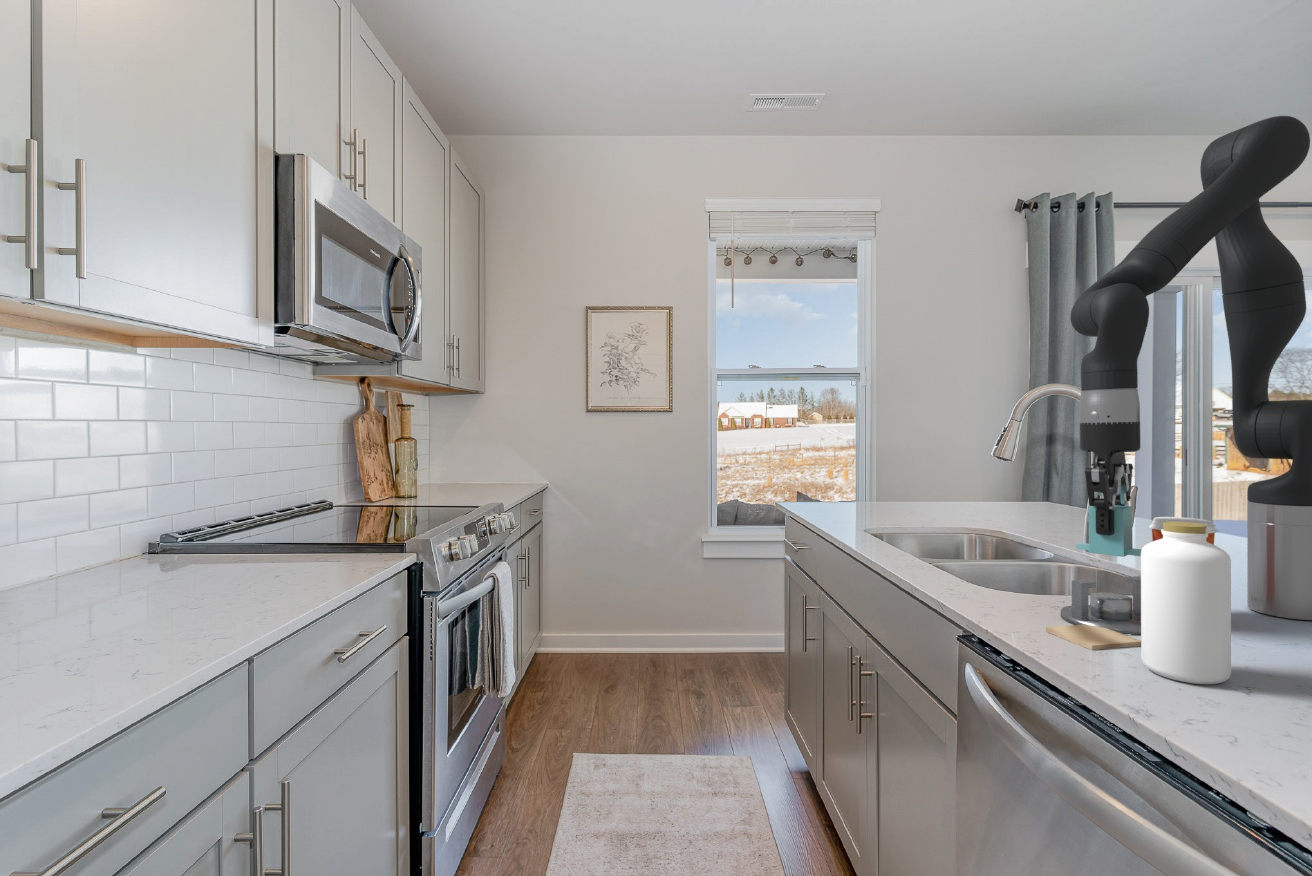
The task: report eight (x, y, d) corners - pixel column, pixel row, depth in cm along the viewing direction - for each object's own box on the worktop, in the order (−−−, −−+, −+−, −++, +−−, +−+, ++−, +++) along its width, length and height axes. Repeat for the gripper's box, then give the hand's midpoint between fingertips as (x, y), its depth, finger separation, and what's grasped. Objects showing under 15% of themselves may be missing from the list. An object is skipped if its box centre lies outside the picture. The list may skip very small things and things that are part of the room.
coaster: (1093, 627, 95) (1093, 623, 95) (1143, 645, 87) (1143, 641, 87) (1045, 631, 94) (1045, 627, 94) (1092, 650, 86) (1092, 645, 86)
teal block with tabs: (1150, 554, 96) (1149, 507, 96) (1141, 559, 93) (1141, 510, 93) (1082, 547, 103) (1082, 503, 103) (1072, 551, 100) (1072, 505, 100)
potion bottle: (1142, 656, 83) (1142, 517, 83) (1229, 671, 78) (1229, 522, 78) (1139, 676, 77) (1138, 525, 77) (1233, 694, 72) (1232, 531, 71)
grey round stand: (1110, 607, 106) (1110, 568, 105) (1189, 631, 93) (1189, 587, 93) (1040, 612, 103) (1040, 572, 103) (1111, 638, 90) (1111, 592, 90)
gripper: (1124, 420, 90) (1125, 542, 91) (1152, 418, 99) (1154, 529, 100) (1063, 421, 96) (1065, 536, 96) (1096, 419, 105) (1097, 524, 105)
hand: (1110, 532), depth 98 cm, fingers closed on teal block with tabs, 4 cm apart
